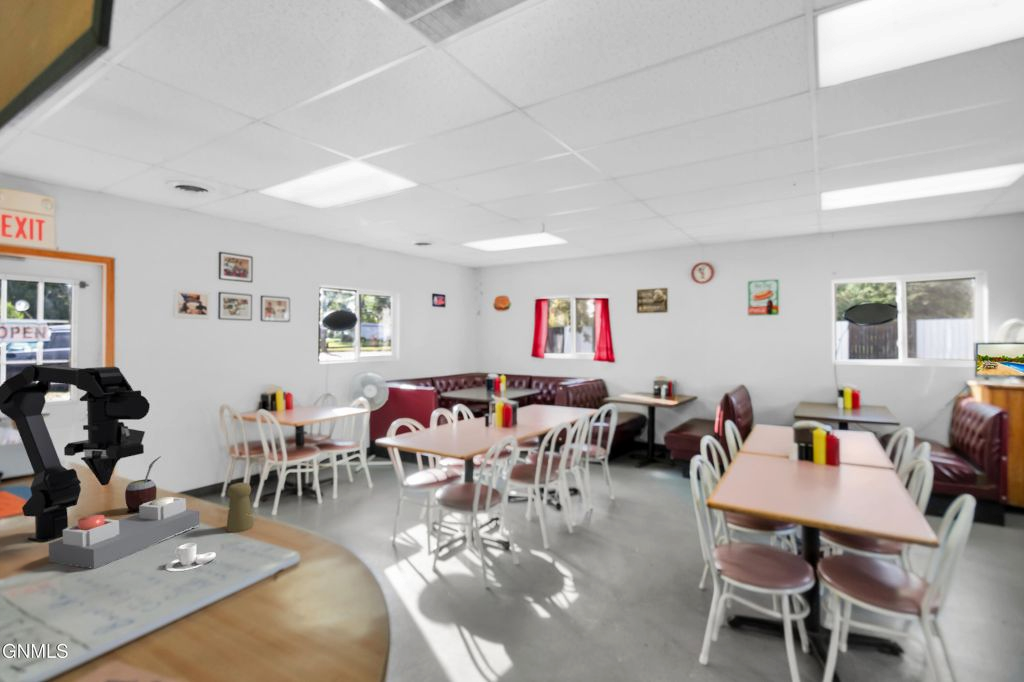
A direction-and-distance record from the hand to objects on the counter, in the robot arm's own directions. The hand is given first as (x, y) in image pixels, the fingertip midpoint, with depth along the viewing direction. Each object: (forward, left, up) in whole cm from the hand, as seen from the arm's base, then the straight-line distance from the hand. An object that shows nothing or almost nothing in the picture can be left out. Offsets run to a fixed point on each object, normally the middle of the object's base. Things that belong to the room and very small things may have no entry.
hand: (105, 484), depth 119 cm
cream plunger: (+8, +8, -9) cm, 14 cm away
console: (+8, 0, -13) cm, 15 cm away
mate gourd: (-13, +18, -13) cm, 26 cm away
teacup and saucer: (+34, -6, -14) cm, 37 cm away
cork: (+26, +14, -13) cm, 32 cm away
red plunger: (+8, -8, -8) cm, 14 cm away
